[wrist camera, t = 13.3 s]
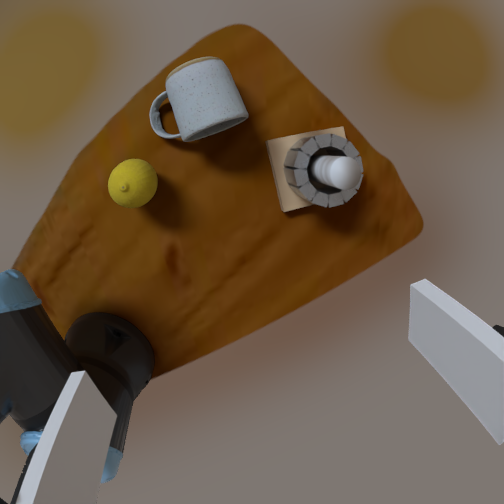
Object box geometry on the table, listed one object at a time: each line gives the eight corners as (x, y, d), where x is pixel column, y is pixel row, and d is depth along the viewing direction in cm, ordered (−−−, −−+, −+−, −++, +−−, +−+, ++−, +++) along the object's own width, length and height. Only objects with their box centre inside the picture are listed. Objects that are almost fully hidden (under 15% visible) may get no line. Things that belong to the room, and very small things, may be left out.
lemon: (115, 193, 35) (92, 203, 27) (130, 152, 33) (109, 152, 26) (153, 208, 36) (138, 222, 28) (169, 167, 35) (157, 170, 27)
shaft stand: (281, 209, 38) (306, 231, 28) (265, 141, 35) (285, 135, 25) (351, 192, 38) (395, 207, 28) (338, 127, 35) (381, 120, 25)
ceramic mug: (222, 65, 31) (223, 44, 24) (246, 122, 34) (253, 113, 27) (143, 98, 32) (124, 86, 24) (166, 155, 34) (152, 156, 27)
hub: (291, 206, 37) (303, 214, 32) (277, 143, 34) (286, 141, 29) (349, 192, 37) (367, 198, 32) (337, 131, 34) (355, 129, 29)
